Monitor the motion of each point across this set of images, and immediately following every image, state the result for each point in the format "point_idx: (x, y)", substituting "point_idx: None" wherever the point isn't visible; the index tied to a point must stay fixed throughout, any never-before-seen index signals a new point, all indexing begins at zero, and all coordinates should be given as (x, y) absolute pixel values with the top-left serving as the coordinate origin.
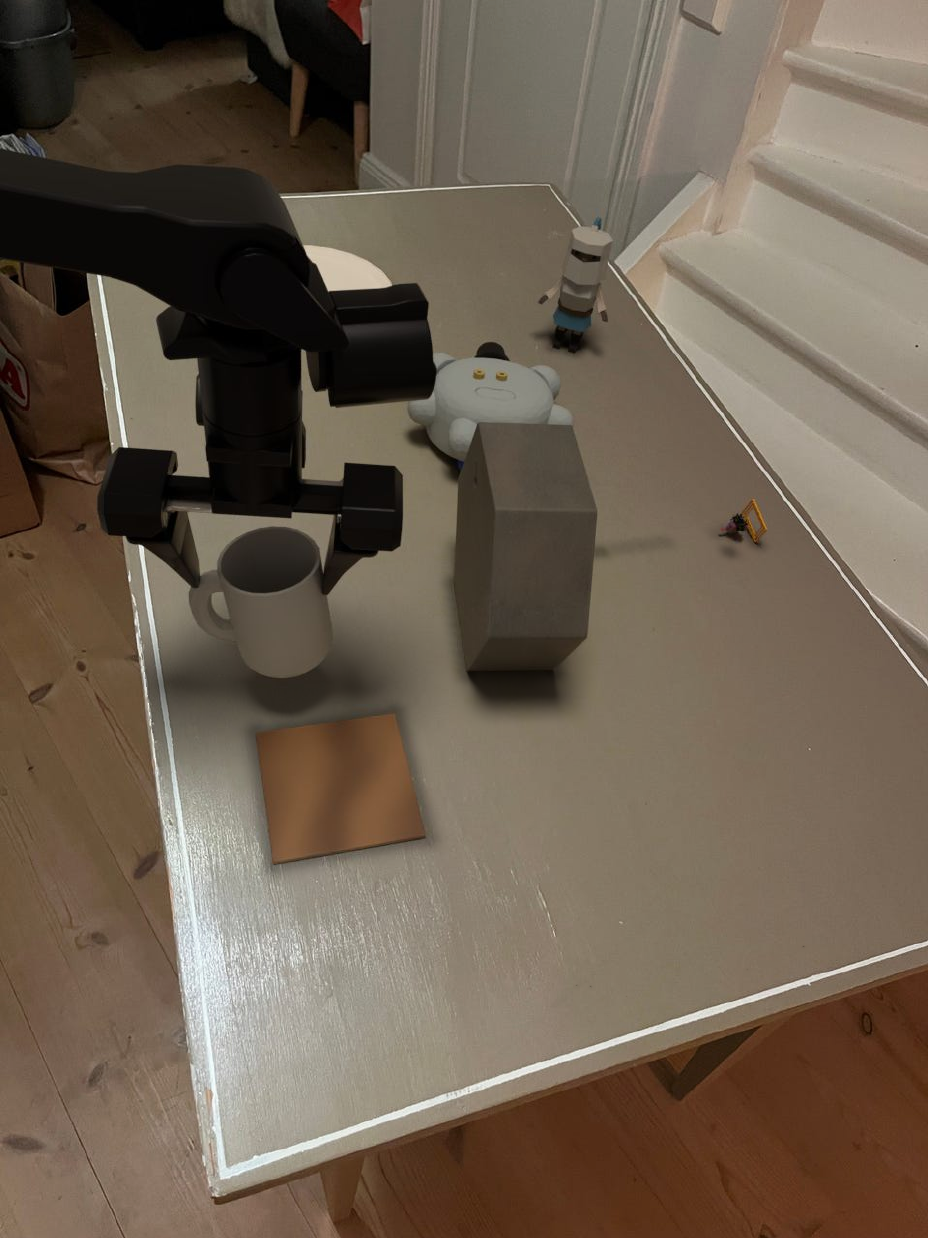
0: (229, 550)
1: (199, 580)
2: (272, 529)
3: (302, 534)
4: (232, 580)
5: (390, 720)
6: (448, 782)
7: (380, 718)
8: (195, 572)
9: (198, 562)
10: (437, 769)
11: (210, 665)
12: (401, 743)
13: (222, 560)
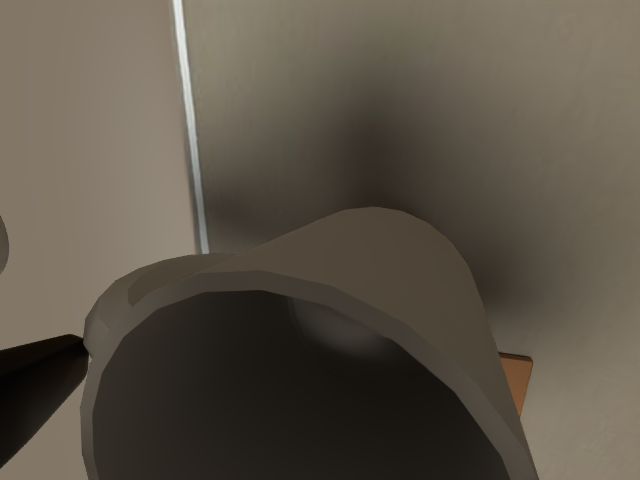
0: (132, 338)
1: (81, 359)
2: (328, 300)
3: (493, 434)
4: (209, 303)
5: (519, 371)
6: (560, 473)
7: (505, 363)
8: (8, 439)
9: (19, 382)
10: (554, 452)
11: (269, 189)
12: (519, 410)
13: (103, 393)
